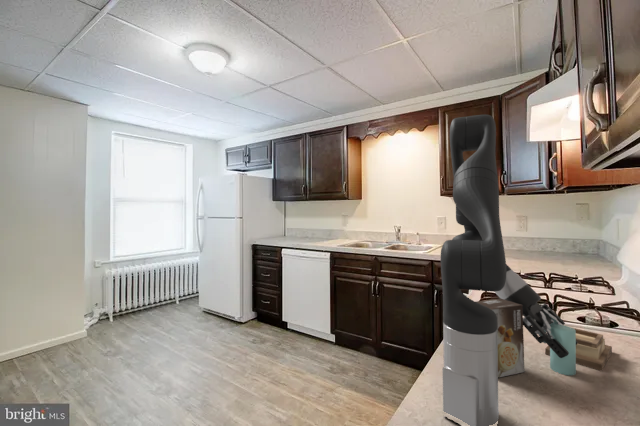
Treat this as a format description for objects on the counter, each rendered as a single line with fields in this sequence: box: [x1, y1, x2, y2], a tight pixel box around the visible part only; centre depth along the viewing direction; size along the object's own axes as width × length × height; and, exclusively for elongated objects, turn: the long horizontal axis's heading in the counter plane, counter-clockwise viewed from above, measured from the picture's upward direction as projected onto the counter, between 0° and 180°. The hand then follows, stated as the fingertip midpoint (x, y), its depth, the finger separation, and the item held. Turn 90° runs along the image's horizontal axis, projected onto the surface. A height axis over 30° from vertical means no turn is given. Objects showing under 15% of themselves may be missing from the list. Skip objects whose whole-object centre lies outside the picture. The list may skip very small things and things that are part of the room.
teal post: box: [549, 324, 577, 376], centre depth 73 cm, size 5×5×10 cm
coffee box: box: [476, 297, 525, 378], centre depth 73 cm, size 9×6×16 cm
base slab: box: [544, 327, 613, 371], centre depth 80 cm, size 14×11×5 cm
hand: (569, 350), depth 71 cm, fingers open, 7 cm apart
